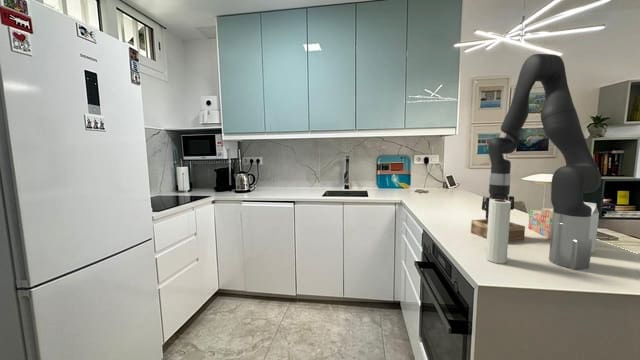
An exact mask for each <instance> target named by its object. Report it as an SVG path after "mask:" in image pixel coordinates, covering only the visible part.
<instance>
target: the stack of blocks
mask: <svg viewBox="0 0 640 360" xmlns="http://www.w3.org/2000/svg"><path fill="white" fill-rule="evenodd" d="M528 216H529V217H528V226H527V228H528V229H529V230H531V231H533V232H535V233H536V234H539V235H541V236H543V237H545V238H547V240H551V229H552V219H553V207H552V208H546V207H545V208H544V207H542V208H541V210H535V209H534V210H533V209H530V210H529V212H528Z"/></svg>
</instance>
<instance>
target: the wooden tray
mask: <svg viewBox="0 0 640 360" xmlns="http://www.w3.org/2000/svg"><path fill="white" fill-rule="evenodd" d="M470 223H471V224H470V225H471V226H470V234H472V235H475V236H477V237H481V238H483V239H486V240H487V230H488V220H487V219H486V218H482V219H472V220H471V222H470ZM525 233H526V226H525V225H523V224H518V223H515V222H511V221H510V222H509V236H508V243H509V242H518V241H524V240H525Z"/></svg>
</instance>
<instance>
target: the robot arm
mask: <svg viewBox="0 0 640 360" xmlns="http://www.w3.org/2000/svg"><path fill="white" fill-rule="evenodd" d="M566 73H567V72H566V66H565V63H564V60H563V58H562V57H561V56H559V55H557V54H553V53H552V54H551V53H535V54H534V53H533V54H532V55H530V56H528V58H526V59H525V60H524V62H523V64H522V66H521V68H520V71H519V74H518V78H517V82H516V86H515V88H514V93H513V97H512V99H511V103H510V106H509V108H508V110H507V113H506V115H505V116H504V119H503V121H502V124H501V126H500V131H501V132H502V133H504V134H505V137H502V136H501V137H493V138H491V139H490V141H488V144H487V152H488V156H489V160H490V163H491V164H490V174H489V175H490V176H489V184H488V185H489V186H488V193H489V196H488V197H487V196H483V197H482V204H481V210H482V211H484V212H485V219H487V220H488V214H489V198H490V199H499V200H506V201H510V202H511V209H510V211H512V210H515V196H513V195H510V192H511V168H512V167H511V166H512V164H511V163H512V162H511V160H508V159H505V158H504V155H505V154H506V155H509V154H512V153H514V152H515V150H516V149H517V147H518V145H519V143H520V142H519V141H520V136H521V135H520V134H521V132H522V131H521V130H522V129H523V127H524V125H525V122H527V119H528V116H529V112H530V94H531V91H532V88H533V87H534V86H535V83H536V82H540V84H541V85H542V87H543V90H544V94H545V99H544V103H543V104H542V108H541V111H540V119H541V120H540V121H541V124H542V127H543V131H544V133H545V135H546V137H547V138H548V139H549V141H550V142H551V143H552V144H553V145H554V147H556V148H557V149H558V150H559V152H560V153H561V155H562V157H563V158H564V161H565V164H566V165H564V166H560V167H558V168H557V169H555V171H554V172H553V174H552V178H551V185H550V187H551V188H550V202H551V205H552V208H553V219H552V229H551V240H550V239H549V240H550V242H549V253H548V261H550V262H551V263H553V264H555V265H557V266H560V267H565V268H570V269H572V270H580V269H581V270H582V269H583V270H584V269H589V268H590V266H591V265H590V263H591V256H592V253H591V248H592V240H591V239H589V231H590V222H591V214H592V209H591V207H590V206H588V205H586V204H584V202H585V201H584V194H591V193H594V192H596V191H597V190H598V189H599V188H600V186H601V184H602V174H601V172H600V169H599V167H598V166H597V163H596V161H595V159H594V158H593V155H592V153H591V152H590V149H589V146H588V143H587V140H586V137H585V134H584V131H583V130H582V126H581V122H580V119H579V116H578V113H577V109H576V107H575V105H574V101H573V98H572V95H571V91H570V88H569V84H568V79H567V74H566Z"/></svg>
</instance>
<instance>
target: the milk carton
mask: <svg viewBox="0 0 640 360" xmlns="http://www.w3.org/2000/svg"><path fill="white" fill-rule="evenodd" d="M583 202H584V204H586V205H588V206H590V207H591V209H592V214H591V222H590V231H589V239H591V240H592V248H591V254H593V253H595V252H596V245H597V244H596V243H597V236H598V228H599V227H598V226H599V219H600V218H599V215H600V212H599V210H598V207H597V203H595V202H587V201H586V202H585V201H583Z"/></svg>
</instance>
